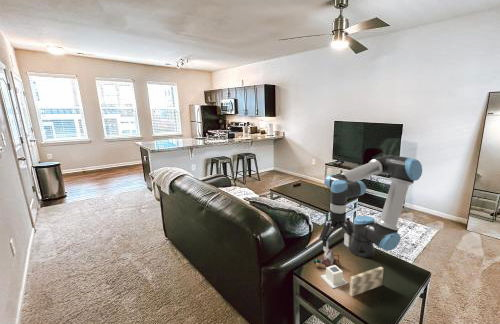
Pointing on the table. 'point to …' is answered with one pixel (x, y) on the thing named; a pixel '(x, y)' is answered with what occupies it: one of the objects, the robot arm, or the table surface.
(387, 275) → the table surface
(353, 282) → the birch screen
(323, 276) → the felt mat
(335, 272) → the cream cube
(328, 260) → the decorative duck model
